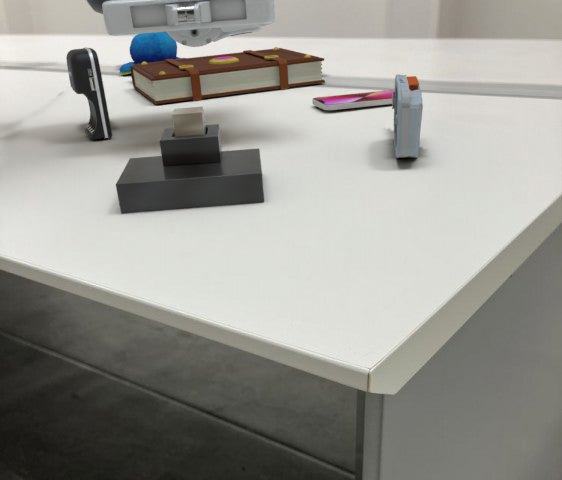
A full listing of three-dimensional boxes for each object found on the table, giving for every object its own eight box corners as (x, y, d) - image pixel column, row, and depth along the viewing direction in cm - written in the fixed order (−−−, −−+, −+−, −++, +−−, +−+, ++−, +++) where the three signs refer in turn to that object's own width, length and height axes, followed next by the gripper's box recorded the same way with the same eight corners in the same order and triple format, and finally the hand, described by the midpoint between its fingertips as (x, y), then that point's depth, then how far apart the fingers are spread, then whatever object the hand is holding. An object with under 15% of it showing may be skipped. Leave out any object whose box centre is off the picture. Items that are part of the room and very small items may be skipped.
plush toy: (120, 79, 146) (113, 36, 142) (118, 70, 161) (112, 30, 156) (198, 72, 149) (193, 29, 145) (189, 63, 163) (184, 24, 159)
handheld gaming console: (391, 138, 86) (392, 69, 82) (414, 137, 85) (417, 68, 81) (394, 169, 74) (396, 90, 69) (422, 168, 73) (425, 89, 69)
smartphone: (418, 96, 104) (325, 105, 101) (418, 102, 104) (325, 112, 101) (399, 89, 110) (310, 97, 107) (398, 95, 110) (310, 104, 107)
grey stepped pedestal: (121, 213, 66) (110, 156, 63) (135, 182, 76) (126, 130, 73) (264, 202, 66) (259, 144, 64) (261, 172, 76) (257, 120, 73)
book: (325, 84, 124) (324, 54, 122) (155, 105, 116) (151, 74, 114) (282, 70, 143) (280, 44, 140) (133, 88, 135) (128, 60, 132)
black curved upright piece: (79, 134, 100) (62, 48, 94) (105, 130, 101) (89, 45, 95) (86, 143, 94) (67, 52, 88) (113, 139, 95) (97, 49, 90)
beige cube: (175, 140, 69) (171, 114, 68) (177, 134, 72) (174, 108, 71) (204, 138, 69) (201, 111, 68) (205, 131, 72) (203, 106, 71)
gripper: (107, -14, 86) (86, -10, 74) (269, -27, 86) (274, -25, 74) (116, 41, 89) (98, 54, 77) (273, 29, 89) (278, 39, 77)
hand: (186, 15), depth 76 cm, fingers closed
